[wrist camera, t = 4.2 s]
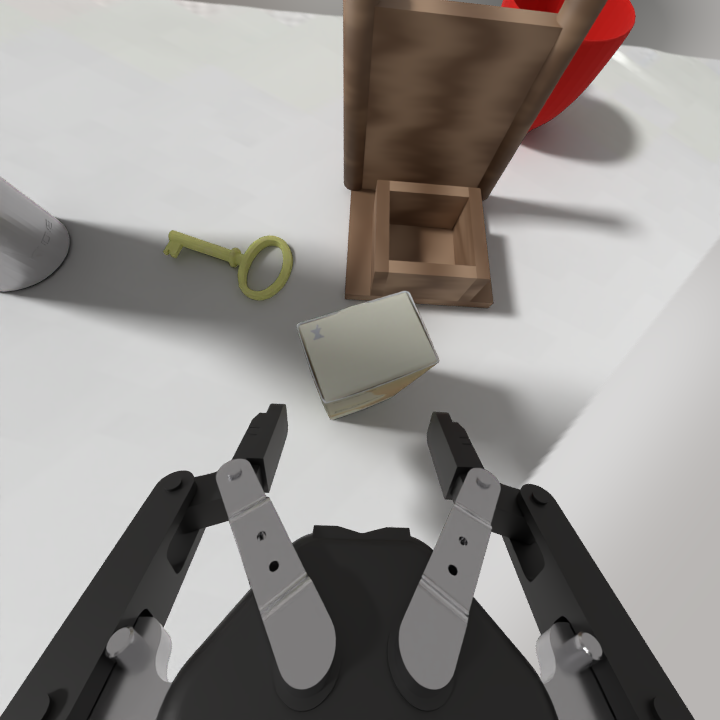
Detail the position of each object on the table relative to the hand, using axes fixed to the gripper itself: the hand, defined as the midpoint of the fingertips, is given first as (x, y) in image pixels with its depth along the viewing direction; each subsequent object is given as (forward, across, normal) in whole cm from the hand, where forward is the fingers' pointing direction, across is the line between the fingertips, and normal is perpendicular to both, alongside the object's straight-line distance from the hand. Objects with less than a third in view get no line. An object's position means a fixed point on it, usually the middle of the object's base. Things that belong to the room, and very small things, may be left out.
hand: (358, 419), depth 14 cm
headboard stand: (+21, -6, -8) cm, 23 cm away
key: (+18, +13, -4) cm, 23 cm away
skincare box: (+9, 0, +4) cm, 10 cm away
